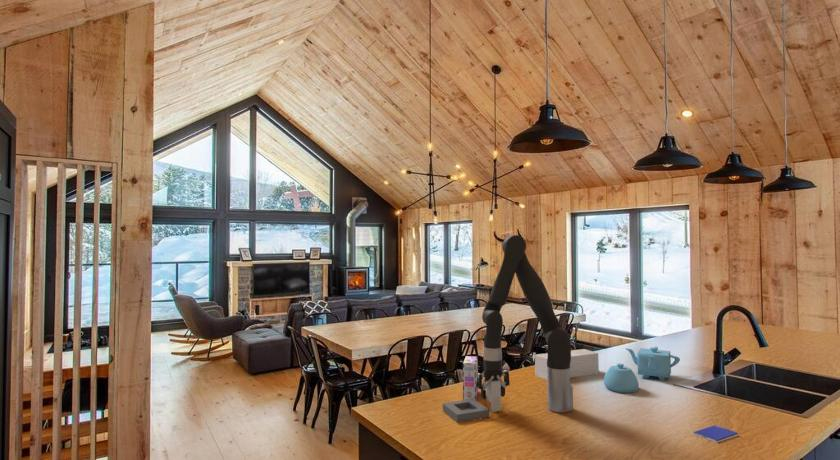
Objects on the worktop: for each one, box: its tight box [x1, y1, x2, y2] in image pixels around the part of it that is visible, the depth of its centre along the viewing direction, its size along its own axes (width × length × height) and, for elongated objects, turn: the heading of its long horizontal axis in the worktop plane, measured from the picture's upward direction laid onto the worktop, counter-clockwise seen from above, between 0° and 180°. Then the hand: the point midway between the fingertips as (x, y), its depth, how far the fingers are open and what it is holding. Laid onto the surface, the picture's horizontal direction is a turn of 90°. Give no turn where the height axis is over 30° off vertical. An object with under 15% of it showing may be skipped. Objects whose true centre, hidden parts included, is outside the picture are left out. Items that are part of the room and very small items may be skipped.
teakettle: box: [624, 346, 681, 382], centre depth 233 cm, size 19×19×15 cm
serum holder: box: [442, 399, 490, 423], centre depth 185 cm, size 14×14×3 cm
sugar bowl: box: [603, 362, 639, 394], centre depth 214 cm, size 15×15×12 cm
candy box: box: [462, 355, 479, 401], centre depth 207 cm, size 14×6×16 cm, turn 168°
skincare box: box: [485, 381, 502, 413], centre depth 190 cm, size 6×4×12 cm
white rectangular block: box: [534, 348, 600, 381], centre depth 240 cm, size 32×11×11 cm, turn 111°
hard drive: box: [692, 424, 739, 444], centre depth 161 cm, size 2×8×12 cm
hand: (493, 397), depth 190 cm, fingers open, 8 cm apart
